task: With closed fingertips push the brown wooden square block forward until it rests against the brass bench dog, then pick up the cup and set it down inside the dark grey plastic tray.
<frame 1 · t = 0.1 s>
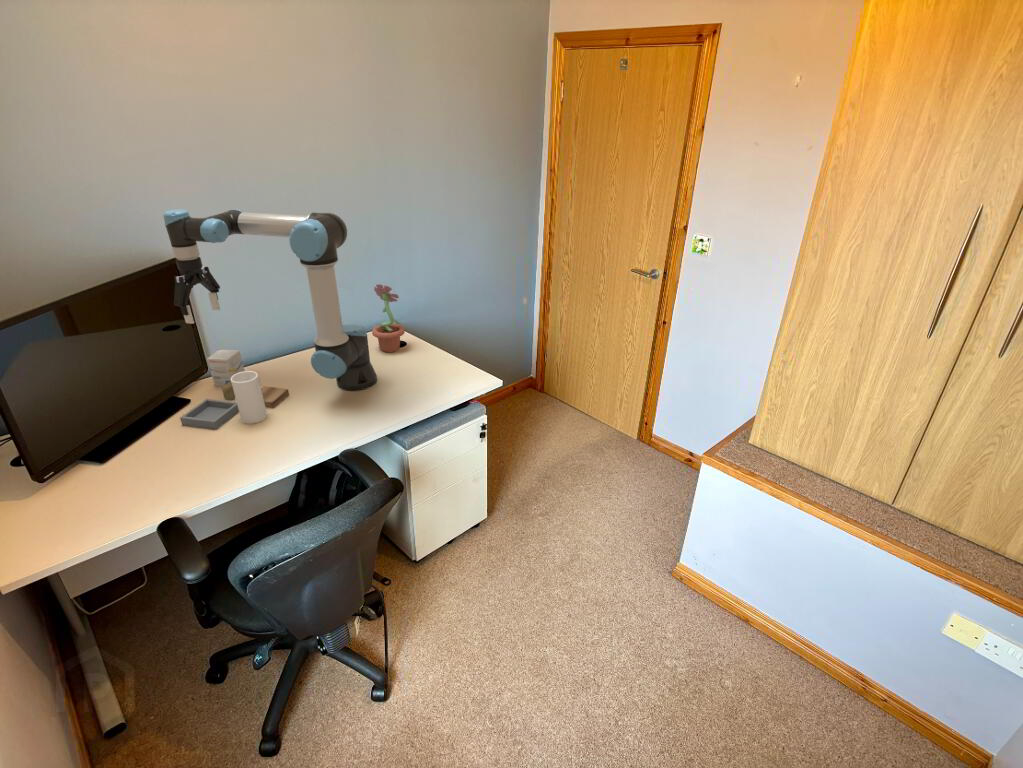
hand: (203, 316, 194), 28 cm above the table, fingers open, 13 cm apart
cup: (254, 418, 187), on the table
ink box: (230, 381, 210), on the table
tray: (212, 417, 186), on the table
brown wooden square block: (269, 401, 197), on the table
bench dog: (233, 395, 199), on the table
decorative flower: (391, 349, 238), on the table
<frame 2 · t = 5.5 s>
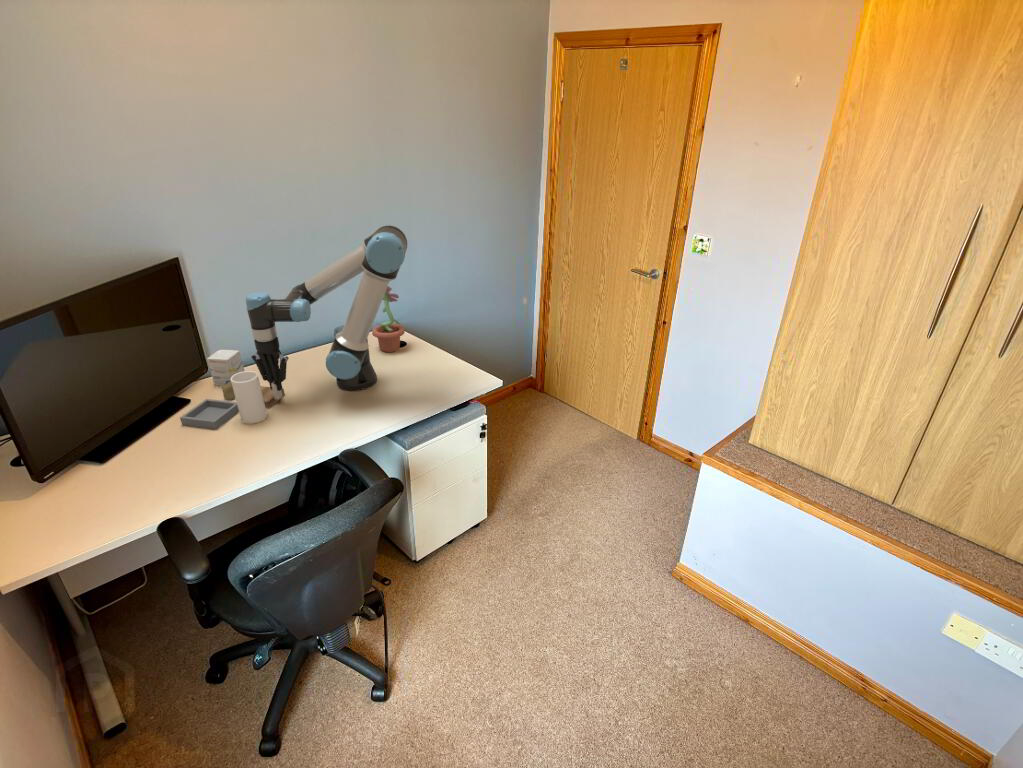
hand: (278, 397, 196), 2 cm above the table, fingers closed
brown wooden square block: (265, 400, 197), on the table
everything else where it was.
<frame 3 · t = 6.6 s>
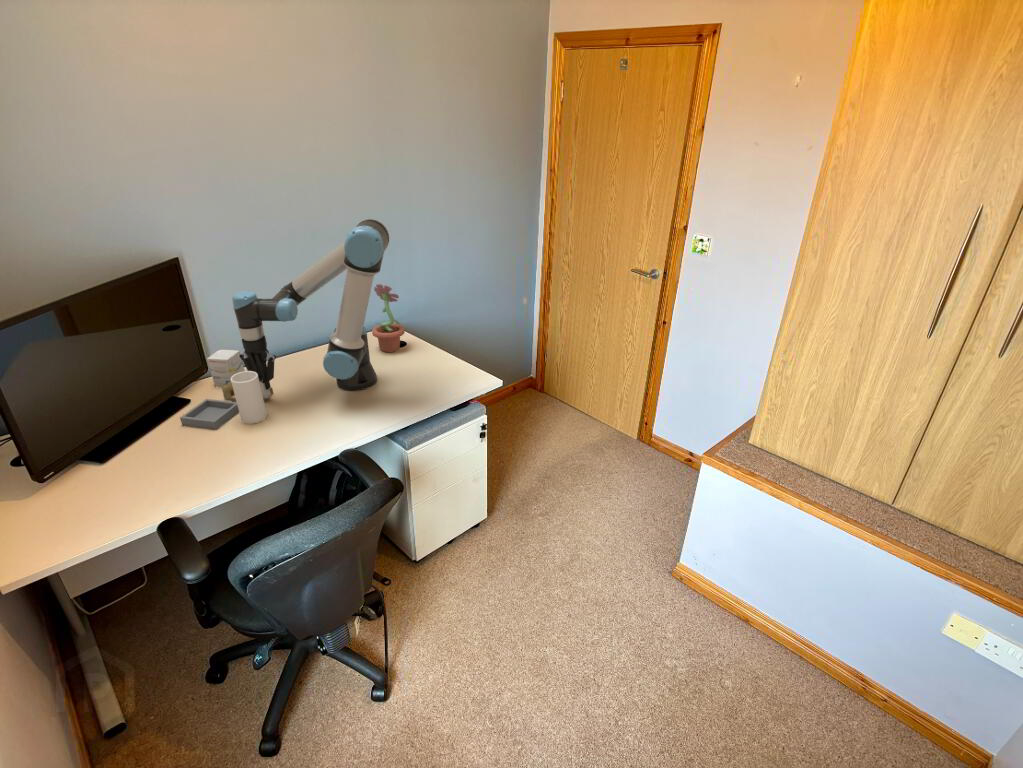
hand: (266, 396, 197), 1 cm above the table, fingers closed
brown wooden square block: (253, 399, 198), on the table, touching gripper
everything else where it was.
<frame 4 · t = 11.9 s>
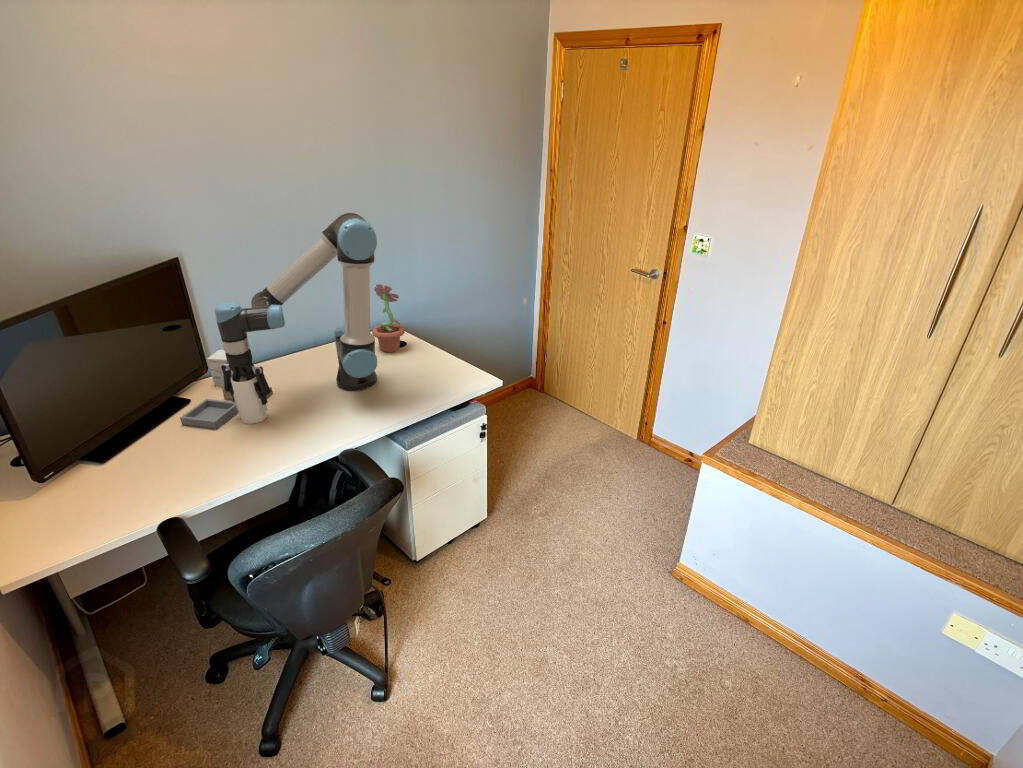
hand: (252, 410, 185), 3 cm above the table, fingers closed on cup, 8 cm apart
cup: (254, 418, 187), on the table, touching gripper
brown wooden square block: (253, 399, 198), on the table
everything else where it was.
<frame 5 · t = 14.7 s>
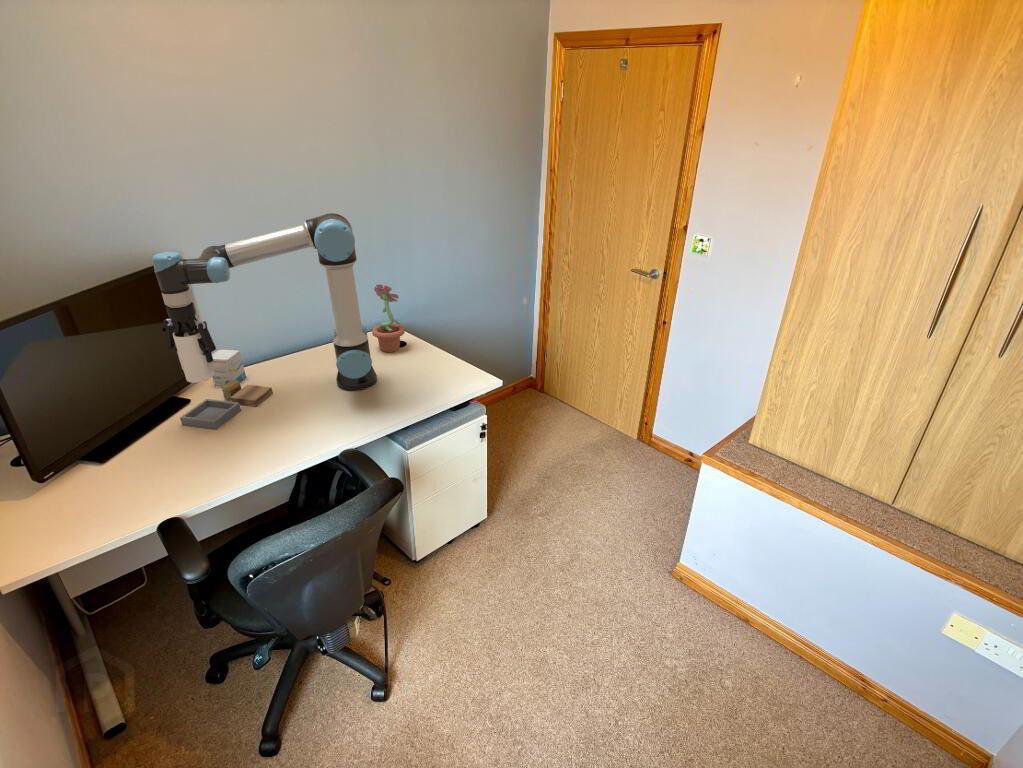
hand: (198, 369, 177), 19 cm above the table, fingers closed on cup, 8 cm apart
cup: (200, 377, 179), point 16 cm above the table, touching gripper
everything else where it was.
when the fingers open (5 cm above the table, at t = 17.5 s): cup drops 1 cm, resting on tray.
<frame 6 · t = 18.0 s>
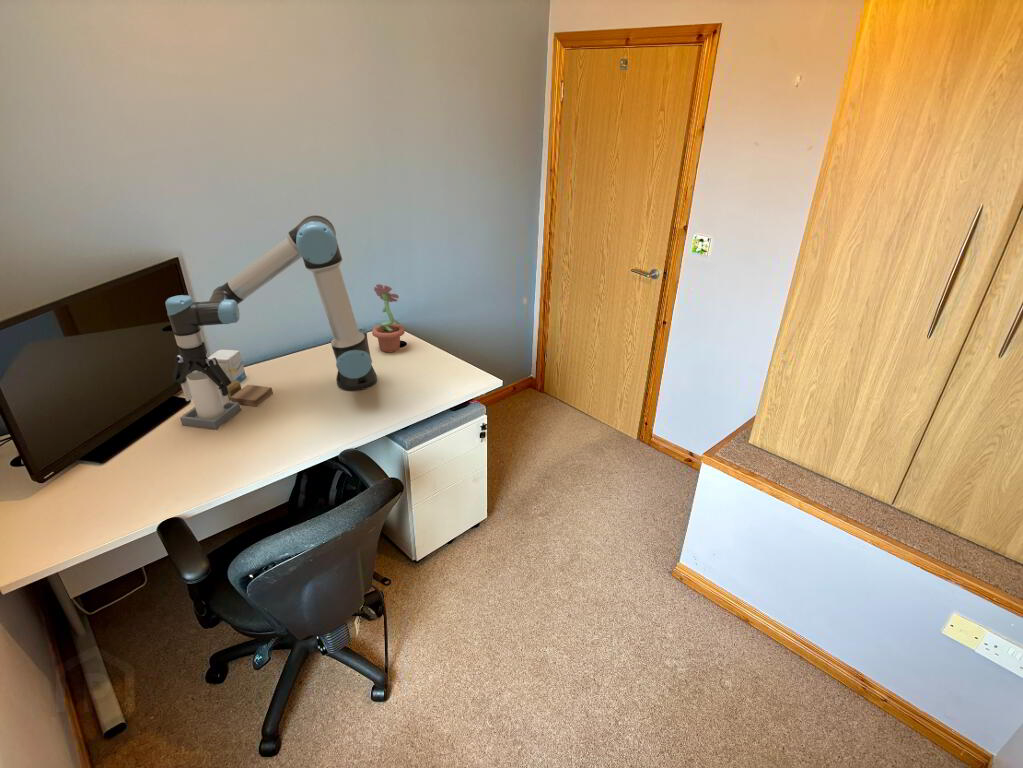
hand: (207, 401, 183), 6 cm above the table, fingers open, 13 cm apart
cup: (212, 416, 186), resting on tray
everything else where it was.
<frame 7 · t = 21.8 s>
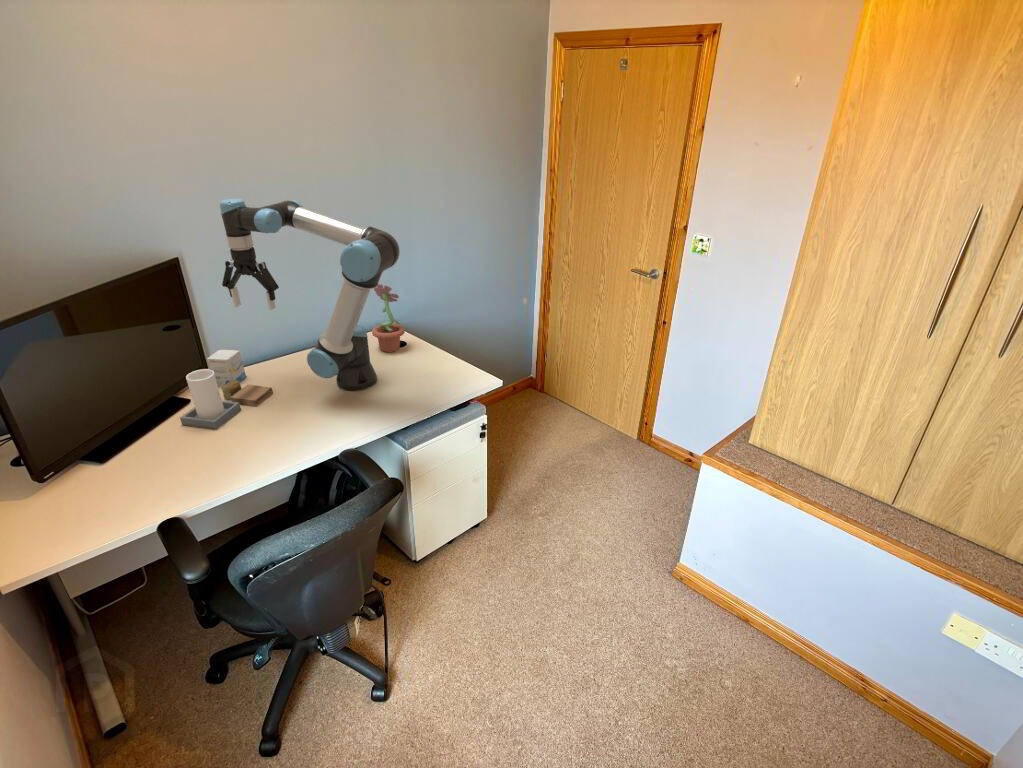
hand: (255, 307, 192), 32 cm above the table, fingers open, 13 cm apart
nothing on the table moved.
at the end: brown wooden square block 1.2 cm from the target spot, on the table; cup 0.1 cm off-centre on the tray, point 0.4 cm above the tray's base; cup tilted 0° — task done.
